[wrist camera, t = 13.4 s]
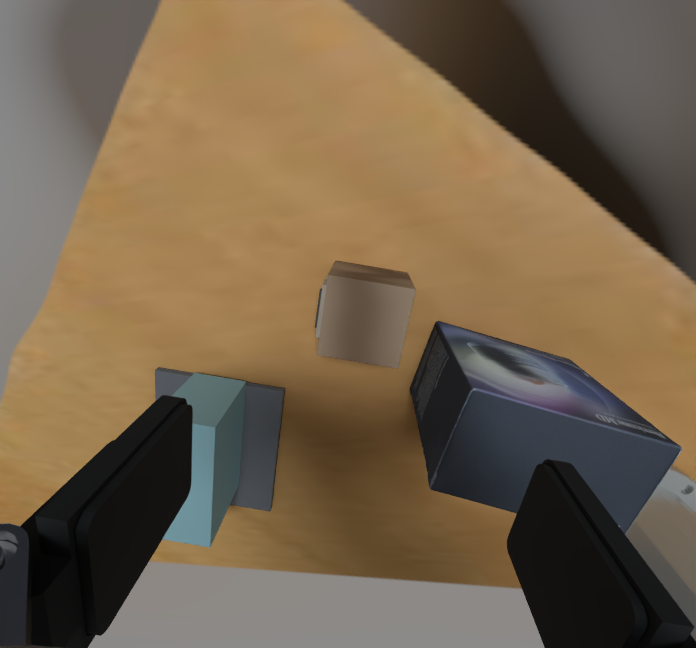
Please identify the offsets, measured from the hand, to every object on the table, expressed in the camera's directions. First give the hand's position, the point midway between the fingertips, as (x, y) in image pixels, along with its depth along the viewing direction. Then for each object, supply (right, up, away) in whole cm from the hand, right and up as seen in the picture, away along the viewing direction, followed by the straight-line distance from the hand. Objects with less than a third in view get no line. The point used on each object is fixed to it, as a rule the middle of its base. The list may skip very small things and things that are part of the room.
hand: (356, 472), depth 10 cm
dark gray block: (-11, -6, +21) cm, 24 cm away
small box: (+10, 0, +18) cm, 21 cm away
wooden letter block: (+1, +6, +16) cm, 17 cm away
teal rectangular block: (-11, -5, +20) cm, 23 cm away
